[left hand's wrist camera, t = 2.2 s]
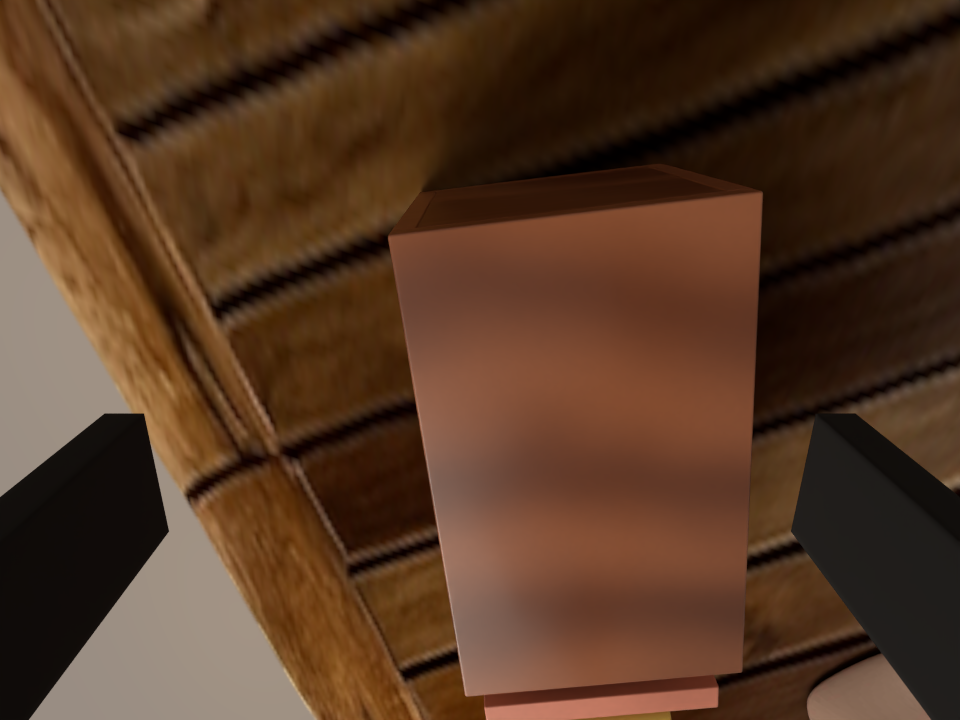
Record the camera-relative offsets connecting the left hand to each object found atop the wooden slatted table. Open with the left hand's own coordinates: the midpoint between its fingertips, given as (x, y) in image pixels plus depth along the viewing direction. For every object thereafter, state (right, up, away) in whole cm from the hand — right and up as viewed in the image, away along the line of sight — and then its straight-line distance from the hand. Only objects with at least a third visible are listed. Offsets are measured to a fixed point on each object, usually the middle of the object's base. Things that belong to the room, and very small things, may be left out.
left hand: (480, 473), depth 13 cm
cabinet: (+4, +2, +20) cm, 21 cm away
